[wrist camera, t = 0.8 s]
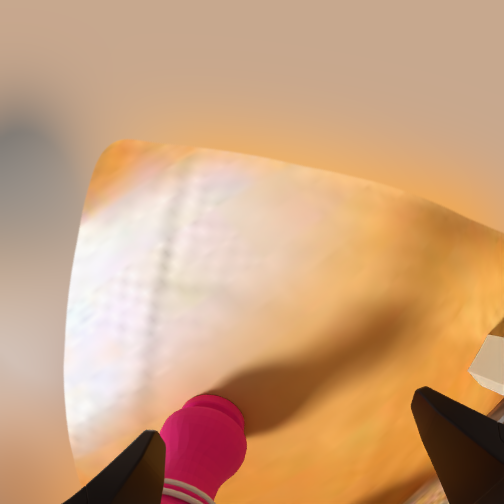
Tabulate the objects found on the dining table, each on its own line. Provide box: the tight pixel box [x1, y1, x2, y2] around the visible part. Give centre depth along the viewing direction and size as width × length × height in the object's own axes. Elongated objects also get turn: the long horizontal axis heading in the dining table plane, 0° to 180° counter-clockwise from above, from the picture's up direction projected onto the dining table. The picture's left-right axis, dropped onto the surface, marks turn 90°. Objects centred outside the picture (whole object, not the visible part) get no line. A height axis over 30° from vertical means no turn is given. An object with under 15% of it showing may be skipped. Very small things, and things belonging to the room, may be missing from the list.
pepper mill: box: [160, 395, 247, 504], centre depth 12 cm, size 7×7×20 cm
